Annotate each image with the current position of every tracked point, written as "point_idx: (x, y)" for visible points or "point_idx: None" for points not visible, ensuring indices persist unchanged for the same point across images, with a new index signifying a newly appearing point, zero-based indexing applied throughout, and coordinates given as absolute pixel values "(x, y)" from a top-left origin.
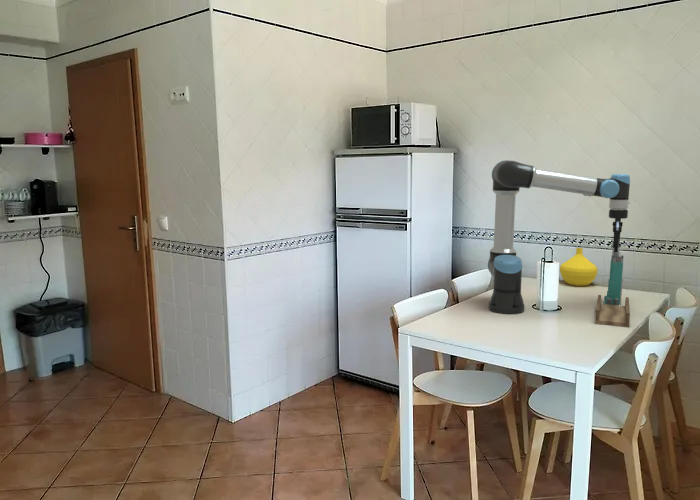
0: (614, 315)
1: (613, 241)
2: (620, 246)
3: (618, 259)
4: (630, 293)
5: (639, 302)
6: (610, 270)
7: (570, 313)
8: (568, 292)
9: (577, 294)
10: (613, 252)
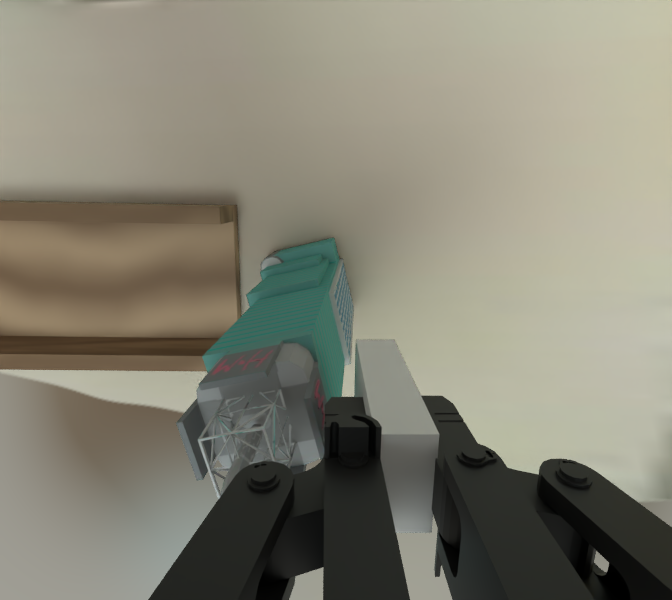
0: (9, 288)
1: (353, 537)
2: (437, 559)
3: (202, 428)
4: (612, 366)
5: None
6: (304, 306)
7: (16, 61)
8: (558, 19)
9: (514, 81)
10: (367, 403)
